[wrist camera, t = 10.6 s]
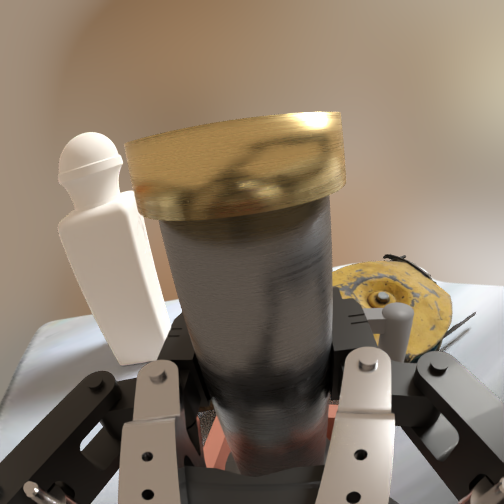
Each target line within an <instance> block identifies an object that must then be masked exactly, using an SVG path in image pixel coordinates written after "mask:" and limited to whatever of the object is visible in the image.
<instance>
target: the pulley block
mask: <svg viewBox="0 0 504 504" xmlns="http://www.w3.org/2000/svg"><path fill="white" fill-rule="evenodd" d="M405 257H406V256H405V255H404V256H401V257H398V256H394V255H391V254H387V255H385V256H384V257H383V258H384V259H385V258H389V259H392V260H390V261H385V260H384V261H369V262H363V263H357V264H352V265H349V266H346V267H343V268H340V269H338V270H336V271H333V272H332V285H333V287H338V288H339V291H340V294H341V296H342V299H347V298H353V299H354V300H356V301H357V302H358V303H359V304H361V306H362V308H384V307H385V306H386V305H388V304H390V303H395V302H399V303H404V304H407V305H409V306H410V307H411V308H412V309H413V310H414V317H413V322H412V327H411V332H410V337H409V342H408V346H407V350H406V355H405V359H404V363H418V360H419V359H420V357H421V356H422V355H424V354H425V353H428V352H431V351H438V350H439V349H440V347H441V344H442V340H443V338H445V337H446V336H447V335H449V334H450V333H452V332H453V331H454V330H456V329H457V328H459V327H460V326H461V325H462V324H464V323H465V322H466V321H468V320H469V319H470V318H471V317H473V316H474V315H475V314H476V312H474V313H473V314H472V315H470V316H469V317H467V318H466V319H465V320H464V321H462V322H460V323H459V324H456V325H455V326H453V327H452V328H451V329H450V330H448V328H449V326H450V324H451V320H452V302H451V298H450V295H449V294H448V293H446V292H445V291H444V290H443V289H442V288H440V287H439V286H438V285H437V284H436V282H434V281H433V280H432V278H431V275H429V274H428V273H426V272H425V271H423V270H422V269H421V268H419V267H418V266H417V265H415V264H414V263H412V262H410V261H408V260H405V259H404V258H405ZM447 330H448V331H447ZM373 335H374V338H375V340H376V343H377V345H378V342H379V335H380V334H373ZM212 409H214V406H213V404H212V401H210V406H209V407H200V406H199V411H198V412H204V411H208V410H212Z"/></svg>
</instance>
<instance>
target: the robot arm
mask: <svg viewBox="0 0 504 504" xmlns="http://www.w3.org/2000/svg"><path fill="white" fill-rule="evenodd" d="M170 329H171V330H169V333H168V335H167V337H166V340H165V342H164V344H163V346H162V349H161V351H160V353H159V356H158V358H157V360H156V361H153V362H150V363H148V364H146V365H145V366H144V367H143V368H142V369H141V370H140V371H139V373H138V375H137V378H133V379H128V380H123V381H116V380H115V378H114V376H113V375H112V374H111V373H109V372H107V371H98V372H94V373H92V374H90V375H88V376H87V377H85V378H84V379H83V380H82V381H81V382H80V383H79V384H78V385H77V386H76V387H75V388H74V389H73V390H72V391H71V392H70V393H69V394H68V395H67V396H66V397H65V398H64V399H63V400H62V401H61V402H60V403H59V404H58V405H57V406H56V407H55V408H54V409H53V410H52V411H51V412H50V413H49V414H48V415H47V416H46V417H45V418H44V419H43V420H42V421H41V422H40V423H39V424H38V425H37V426H36V427H35V428H34V429H33V430H32V431H31V432H30V433H29V434H28V435H27V436H26V437H25V438H24V439H23V440H22V441H21V442H20V443H19V444H18V445H17V446H16V447H15V448H14V449H13V450H12V451H11V452H10V453H9V454H8V455H7V456H6V457H5V458H4V460H3V461H2V462H1V463H0V504H91V503H92V501H93V500H94V499H95V498H96V496H97V495H98V494H99V493H100V491H101V490H102V489H103V488H104V487H105V485H106V484H107V483H108V482H109V480H110V479H111V478H112V477H113V475H114V474H115V473H116V472H117V470H118V469H119V487H118V504H398V503H397V502H396V501H394V500H393V499H392V498H390V497H389V494H390V486H391V476H392V465H393V451H394V432H395V426H401V428H402V429H403V430H404V432H405V433H406V434H407V436H408V437H409V438H410V439H411V441H412V442H413V443H414V444H415V446H416V447H417V448H418V450H419V451H420V452H421V453H422V455H423V456H424V457H425V458H426V460H427V461H428V462H429V464H430V465H431V466H432V467H433V469H434V470H435V471H436V472H437V474H438V475H439V476H440V478H441V479H442V480H443V481H444V483H445V484H446V485H447V487H448V488H449V489H450V490H451V492H452V493H453V494H454V496H455V497H456V498H457V499H458V501H459V502H458V504H504V402H503V401H502V400H500V399H499V398H498V397H497V396H496V395H495V394H494V393H493V392H492V391H491V390H490V389H489V388H488V387H486V386H485V385H484V384H483V383H482V382H481V381H480V380H479V379H478V378H477V377H476V376H474V375H473V374H472V373H471V372H470V371H469V370H468V369H467V368H466V367H464V366H463V365H462V364H461V363H460V362H459V361H458V360H457V359H455V358H454V357H453V356H452V355H450V354H448V353H446V352H442V351H431V352H428V353H425V354H424V355H422V356H421V357H420V359H419V360H418V363H402V362H396V361H393V360H391V359H390V357H389V356H388V354H387V353H386V352H384V351H383V350H381V349H379V348H378V345H377V343H376V340H375V338H374V335H373V333H372V330H371V328H370V325H369V323H368V320H367V318H366V316H365V313H364V311H363V308H362V306H361V304H359V303H358V302H357V301H356V300H354V299H353V298H347V299H342V296H341V294H340V291H339V288H338V287H333V315H332V355H331V378H330V394H331V400H339V405H338V410H337V412H336V416H335V421H334V426H333V431H332V436H331V441H330V446H329V450H328V455H327V459H326V464H325V465H317V466H307V467H294V468H291V469H287V470H284V471H280V472H276V473H272V474H268V475H263V476H259V477H249V476H245V475H241V474H236V473H232V472H229V471H225V470H221V469H217V468H207V467H206V463H205V458H204V451H203V444H202V436H201V428H200V421H199V418H198V411H199V406H200V407H209V406H210V401H211V398H210V395H209V392H208V390H207V387H206V384H205V381H204V378H203V375H202V372H201V369H200V366H199V363H198V360H197V357H196V354H195V351H194V348H193V345H192V342H191V338H190V335H189V332H188V329H187V325H186V322H185V319H184V315H183V312H182V313H181V314H180V315H179V316H178V317H177V318H176V319H174V321H173V324H172V326H171V328H170ZM98 422H100V423H101V424H102V426H103V428H102V429H101V430H100V431H99V432H98V433H97V435H96V436H95V437H94V438H93V439H92V440H91V441H90V442H89V444H88V445H87V446H86V447H85V448H84V449H83V450H82V451H80V444H81V442H82V440H83V439H84V438H85V437H86V436H87V435H88V434H89V432H90V431H91V430H92V429H93V428H94V427H95V426H96V425H97V424H98Z"/></svg>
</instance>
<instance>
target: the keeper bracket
mask: <svg viewBox="0 0 504 504" xmlns="http://www.w3.org/2000/svg"><path fill="white" fill-rule="evenodd" d="M363 311H364V313H365V316H366V318H367V320H368V323H369V325H370V328H371V330H372V333H373V334H380V335H379V342H378V348H379V349H381V350H383V351H384V352H386V353H387V354H388V356H389V357H390V359H391V360H393V361H396V362H402V363H404V359H405V355H406V350H407V346H408V342H409V337H410V332H411V327H412V322H413V317H414V310H413V309H412V308H411V307H410V306H409V305H407V304H404V303H399V302H395V303H390V304H388V305H386V306H385V307H384V308H363ZM337 410H338V405H329V413H328V425H327V438H328V439H329V440H330V441H331V436H332V431H333V426H334V421H335V416H336V412H337ZM203 451H204V458H205V463H206V467H207V468H217V469H221V470H225V464H226V461H227V458H228V456H229V453H230V452H231V450H230V448H229V445H228V443H227V440H226V438H225V435H224V433H223V430H222V428H221V425H220V422H219V420H218V417H217V415H216V417H215V420H214V422H213V425H212V427H211V430H210V432H209V435H208V437H207V440H206V442H205V444H204V447H203Z"/></svg>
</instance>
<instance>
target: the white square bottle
mask: <svg viewBox="0 0 504 504" xmlns="http://www.w3.org/2000/svg"><path fill="white" fill-rule="evenodd" d="M122 164H123V161H122V158H121V155H118V152H117V149H116V147H115V145H114V144H113V143H112V141H111V140H110V139H109V138H107V137H106V136H104V135H102V134H99V133H95V132H88V133H83V134H80V135H78V136H76V137H74V138H73V139H72V140H70V141H69V143H67V145H66V146H65V148H64V149H63V151H62V153H61V156H60V160H59V174H58V183H59V184H61V185H62V186H63V187H64V188H65V189H66V190H67V191H68V193H69V195H70V196H71V199H72V201H73V204H74V207H75V209H74V210H73V211H72V212H70V213H69V214H68V215H67V216H66V217H65V218H63V219H62V220H61V221H60V223H59V225H58V234H59V237H60V239H61V242H62V245H63V247H64V250H65V253H66V255H67V257H68V260H69V263H70V265H71V267H72V270H73V272H74V275H75V277H76V279H77V281H78V284H79V286H80V288H81V290H82V293H83V295H84V297H85V299H86V301H87V303H88V306H89V308H90V310H91V312H92V314H93V316H94V318H95V320H96V322H97V324H98V326H99V328H100V330H101V332H102V333H103V335H104V337H105V339H106V341H107V343H108V345H109V346H110V348H111V350H112V352H113V354H114V355H115V357H116V359H117V361H118V362H119V364H120V365H122V366H124V365H131V364H138V363H144V362H150V361H156V360H157V358H158V356H159V353H160V351H161V349H162V346H163V344H164V342H165V340H166V337H167V335H168V333H169V330H171V329H170V328H171V324H170V320H169V317H168V313H167V310H166V306H165V303H164V299H163V296H162V292H161V289H160V285H159V281H158V277H157V273H156V269H155V265H154V261H153V257H152V253H151V249H150V245H149V240H148V236H147V232H146V227H145V223H144V218H143V216H142V215H140V214H139V212H138V209H137V205H136V200H135V196H134V191H126V192H122V193H120V190H119V171H120V169H121V166H122Z"/></svg>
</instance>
